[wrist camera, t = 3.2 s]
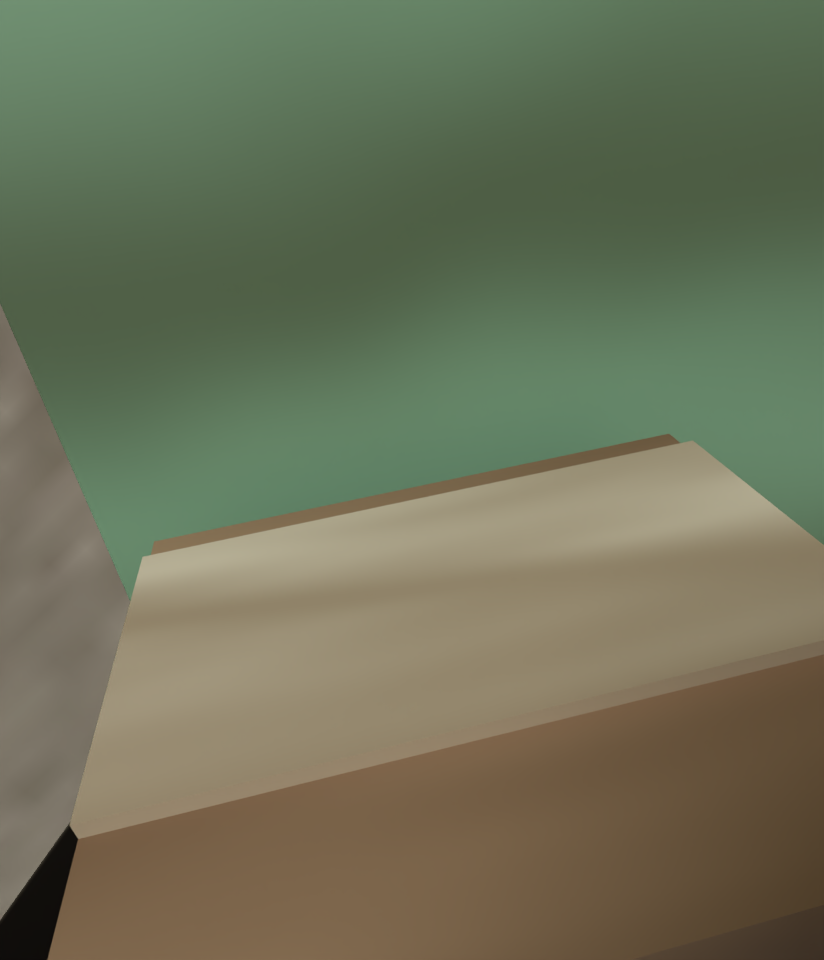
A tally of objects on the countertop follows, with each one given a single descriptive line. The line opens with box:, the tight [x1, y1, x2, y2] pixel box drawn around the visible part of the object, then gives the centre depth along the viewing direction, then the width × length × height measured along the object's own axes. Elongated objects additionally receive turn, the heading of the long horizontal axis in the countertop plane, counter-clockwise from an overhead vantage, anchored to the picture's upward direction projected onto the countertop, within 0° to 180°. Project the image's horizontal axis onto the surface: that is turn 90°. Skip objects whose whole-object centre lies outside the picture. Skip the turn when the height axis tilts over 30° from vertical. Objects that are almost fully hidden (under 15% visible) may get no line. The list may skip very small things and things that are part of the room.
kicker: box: [47, 434, 824, 960], centre depth 7 cm, size 4×6×5 cm
